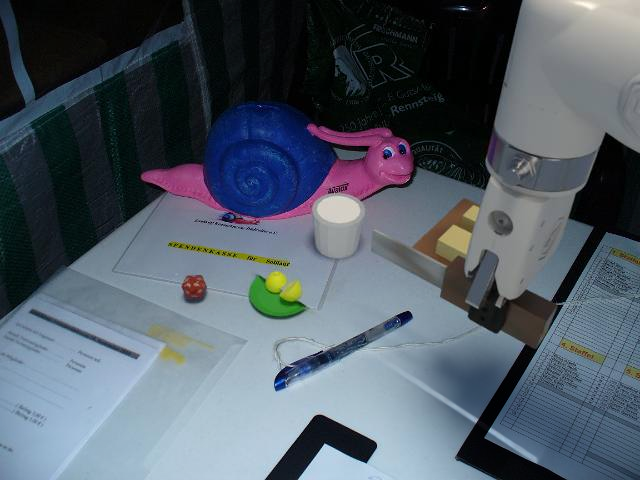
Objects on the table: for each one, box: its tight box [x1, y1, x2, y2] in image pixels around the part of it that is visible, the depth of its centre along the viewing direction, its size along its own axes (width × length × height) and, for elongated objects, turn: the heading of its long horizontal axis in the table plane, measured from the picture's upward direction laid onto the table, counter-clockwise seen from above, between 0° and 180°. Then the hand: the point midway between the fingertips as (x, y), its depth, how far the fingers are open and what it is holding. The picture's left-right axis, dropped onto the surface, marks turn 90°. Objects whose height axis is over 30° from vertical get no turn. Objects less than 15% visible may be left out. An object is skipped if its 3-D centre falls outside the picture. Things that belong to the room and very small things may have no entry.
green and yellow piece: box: [248, 270, 308, 317], centre depth 73 cm, size 8×8×3 cm
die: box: [180, 274, 208, 300], centre depth 73 cm, size 3×3×3 cm
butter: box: [435, 225, 472, 262], centre depth 78 cm, size 6×4×2 cm, turn 50°
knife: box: [370, 228, 559, 350], centre depth 58 cm, size 19×2×4 cm, turn 50°
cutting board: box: [411, 197, 481, 266], centre depth 81 cm, size 12×14×1 cm
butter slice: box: [460, 205, 479, 233], centre depth 81 cm, size 6×3×2 cm, turn 50°
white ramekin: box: [311, 192, 366, 260], centre depth 78 cm, size 7×7×7 cm
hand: (491, 313), depth 57 cm, fingers closed on knife, 2 cm apart
